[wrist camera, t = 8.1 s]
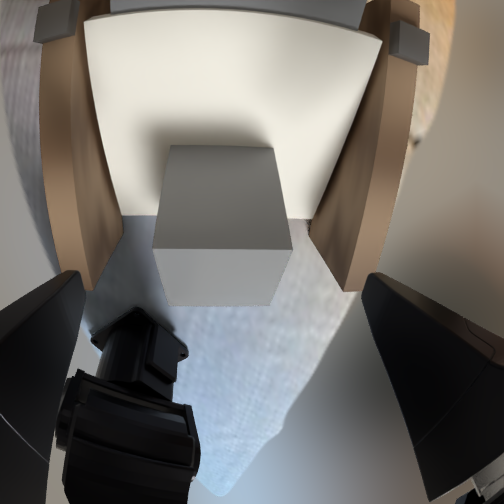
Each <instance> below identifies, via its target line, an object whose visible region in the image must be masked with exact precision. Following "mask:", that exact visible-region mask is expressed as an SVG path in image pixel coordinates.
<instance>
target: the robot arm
mask: <svg viewBox="0 0 504 504" xmlns="http://www.w3.org/2000/svg"><path fill="white" fill-rule="evenodd" d="M361 299H362V303H363V306H364V310H365V313H366V316H367V319H368V322H369V326H370V329H371V333H372V336H373V339H374V341H375V344H376V346H377V349H378V351H379V353H380V356H381V359H382V361H383V364H384V366H385V369H386V371H387V374H388V376H389V379H390V382H391V384H392V387H393V390H394V393H395V395H396V398H397V401H398V403H399V406H400V409H401V412H402V415H403V418H404V421H405V424H406V427H407V430H408V433H409V436H410V439H411V442H412V445H413V447H414V452H415V455H416V458H417V462H418V465H419V469H420V472H421V476H422V479H423V483H424V486H425V490H426V494H427V498H428V500H429V502H431V501H433V500H435V499H437V498H439V497H441V496H443V495H445V494H446V493H448V492H450V491H452V490H453V489H455V488H457V487H458V486H460V485H462V484H463V483H465V482H467V481H468V480H470V479H471V481H472V482H473V485H474V487H475V488H473V489H472V490H470V491H469V492H467V493H466V494H464V495H463V496H461V497H459V498H458V499H457V500H456V503H455V504H504V338H502V337H500V336H498V335H496V334H494V333H492V332H490V331H488V330H486V329H484V328H483V327H481V326H479V325H477V324H475V323H473V322H472V321H470V320H468V319H466V318H463V316H460V315H459V314H457V313H456V312H454V311H452V310H450V309H448V308H447V307H445V306H443V305H441V304H439V303H437V302H436V301H434V300H432V299H430V298H428V297H426V296H424V295H423V294H421V293H419V292H417V291H415V290H413V289H411V288H409V287H408V286H406V285H404V284H402V283H400V282H398V281H396V280H394V279H392V278H390V277H388V276H387V275H385V274H383V273H380V272H376V273H370V274H368V276H367V279H366V282H365V285H364V288H363V291H362V295H361ZM85 300H86V293H85V289H84V285H83V281H82V277H81V274H80V272H79V271H78V270H66V271H64V272H62V273H61V274H59V275H57V276H56V277H54V278H53V279H51V280H49V281H47V282H46V283H44V284H42V285H40V286H39V287H37V288H36V289H34V290H32V291H31V292H29V293H27V294H26V295H24V296H23V297H21V298H19V299H18V300H16V301H15V302H13V303H12V304H10V305H8V306H7V307H5V308H4V309H2V310H1V311H0V504H45V502H46V490H47V479H48V471H49V461H50V454H51V448H52V442H53V436H54V430H55V437H56V438H57V440H56V448H58V449H60V450H63V451H66V455H65V461H64V467H63V474H62V482H63V485H64V491H65V494H66V497H67V499H68V501H69V503H70V504H187V501H188V492H189V488H190V483H191V482H192V481H193V480H194V479H195V477H196V475H197V472H198V469H199V465H200V456H201V450H200V442H199V438H198V434H197V429H196V425H195V420H194V416H193V411H192V406H191V405H187V404H183V405H182V404H178V403H175V402H172V399H173V383H174V382H176V379H177V364H178V362H180V361H182V360H184V359H186V358H187V357H188V356H189V351H188V350H187V349H186V348H185V347H184V346H183V345H181V344H180V343H179V342H178V341H177V340H176V339H175V338H174V337H173V336H171V335H170V334H169V333H168V332H167V331H166V330H165V329H163V328H162V327H161V326H160V325H159V324H157V323H156V322H155V321H154V320H153V319H152V318H151V317H150V316H149V315H148V314H146V313H145V312H144V311H143V310H142V309H141V308H138V307H135V308H133V309H131V310H130V311H128V312H127V313H125V314H124V315H122V316H121V317H119V318H117V319H116V320H114V321H113V322H111V323H110V324H108V325H107V326H105V327H104V328H102V329H101V330H99V331H98V332H96V333H95V334H93V335H92V337H91V340H90V341H91V343H92V344H93V345H95V346H96V347H97V348H98V349H100V350H101V351H102V355H101V359H100V362H99V366H98V369H97V373H96V376H92V375H90V374H87V373H85V371H83V370H80V369H77V372H76V374H75V377H74V376H72V378H67V380H66V376H67V373H68V369H69V366H70V362H71V359H72V355H73V352H74V348H75V345H76V341H77V337H78V332H79V328H80V323H81V318H82V313H83V309H84V305H85ZM135 313H138V314H139V315H137V314H135ZM182 353H184V354H182ZM65 381H66V383H65ZM64 385H65V386H64Z"/></svg>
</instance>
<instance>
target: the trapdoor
mask: <svg viewBox="0 0 504 504" xmlns="http://www.w3.org/2000/svg"><path fill="white" fill-rule="evenodd" d="M366 1H367V0H110V8H111V13H110V14H104V15H98V16H93V17H91V18H90V19H88V20H86V21H84V30H85V41H86V50H87V58H88V66H89V73H90V79H91V86H92V92H93V98H94V103H95V109H96V114H97V119H98V124H99V129H100V133H101V138H102V142H103V147H104V151H105V155H106V159H107V163H108V167H109V171H110V175H111V179H112V183H113V186H114V190H115V194H116V197H117V201H118V204H119V207H120V211H121V214H122V216H134V215H157V213H158V207H159V201H160V196H161V190H162V185H163V179H164V174H165V169H166V164H167V159H168V155H169V150H170V146H171V145H223V146H248V147H266V148H274V152H275V157H276V162H277V167H278V172H279V177H280V182H281V188H282V193H283V198H284V203H285V209H286V214H287V218H294V219H313V217H314V214H315V212H316V210H317V207H318V205H319V203H320V200H321V198H322V196H323V193H324V191H325V189H326V186H327V184H328V181H329V179H330V177H331V174H332V172H333V169H334V167H335V165H336V162H337V160H338V157H339V155H340V152H341V150H342V148H343V145H344V143H345V140H346V138H347V135H348V133H349V130H350V127H351V125H352V122H353V120H354V117H355V115H356V112H357V110H358V107H359V104H360V102H361V99H362V96H363V94H364V91H365V88H366V86H367V83H368V80H369V78H370V75H371V72H372V70H373V67H374V64H375V61H376V58H377V56H378V53H379V50H380V47H381V44H382V40H380V39H379V38H378V37H376V36H375V35H373V34H370V33H367V32H364V31H360V30H358V28H359V25H360V21H361V18H362V15H363V12H364V8H365V5H366Z"/></svg>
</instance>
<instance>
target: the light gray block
mask: <svg viewBox="0 0 504 504" xmlns="http://www.w3.org/2000/svg"><path fill="white" fill-rule="evenodd" d="M152 250H153V253H154V257H155V261H156V264H157V268H158V271H159V275H160V278H161V282H162V285H163V288H164V292H165V295H166V298H167V302H168V305H169V306H270V303H271V301H272V299H273V296H274V294H275V292H276V289H277V287H278V284H279V282H280V280H281V277H282V275H283V273H284V270H285V268H286V265H287V263H288V261H289V258H290V256H291V253H292V251H293V248H292V242H291V236H290V231H289V225H288V220H287V214H286V209H285V203H284V198H283V193H282V188H281V182H280V177H279V172H278V167H277V162H276V157H275V152H274V148H266V147H248V146H223V145H171V146H170V150H169V155H168V159H167V164H166V169H165V174H164V179H163V185H162V190H161V196H160V201H159V207H158V213H157V220H156V226H155V233H154V240H153V247H152Z"/></svg>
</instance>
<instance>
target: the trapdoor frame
mask: <svg viewBox="0 0 504 504" xmlns="http://www.w3.org/2000/svg"><path fill="white" fill-rule="evenodd" d="M110 13H111V8H110V0H50V2H49V4H47V5H44V6H41V7H39V9H38V14H37V20H36V26H35V32H34V40H33V42H37V43H42V44H43V47H42V57H41V69H40V90H39V124H40V145H41V159H42V169H43V178H44V187H45V194H46V201H47V207H48V213H49V219H50V224H51V229H52V234H53V239H54V244H55V248H56V253H57V257H58V261H59V265H60V269H61V273H62V272H64V271H66V270H78V271H79V272H80V274H81V277H82V281H83V285H84V289H85V290H89V291H93V290H94V288H95V286H96V284H97V282H98V280H99V278H100V276H101V274H102V272H103V270H104V268H105V266H106V264H107V262H108V260H109V259H110V257H111V255H112V253H113V251H114V249H115V248H116V246H117V244H118V242H119V240H120V239H121V237H122V235H123V233H124V232H123V223H122V214H121V211H120V207H119V204H118V201H117V197H116V194H115V190H114V186H113V183H112V179H111V175H110V171H109V167H108V163H107V159H106V155H105V151H104V147H103V142H102V138H101V133H100V129H99V124H98V119H97V114H96V109H95V103H94V98H93V92H92V86H91V79H90V73H89V66H88V58H87V50H86V41H85V30H84V21H86V20H88V19H90V18H91V17H93V16H98V15H104V14H110ZM419 23H420V5H418V4H416V3H414V2H412V1H409V0H372V1H370V2H368V3H366V5H365V8H364V12H363V15H362V18H361V21H360V25H359V28H358V30H360V31H364V32H367V33H370V34H373V35H375V36H376V37H378V38H379V39H380V40H382V44H381V47H380V50H379V53H378V56H377V58H376V61H375V64H374V67H373V70H372V72H371V75H370V78H369V80H368V83H367V86H366V88H365V91H364V94H363V96H362V99H361V102H360V104H359V107H358V110H357V112H356V115H355V117H354V120H353V122H352V125H351V127H350V130H349V133H348V135H347V138H346V140H345V143H344V145H343V148H342V150H341V152H340V155H339V157H338V160H337V162H336V165H335V167H334V169H333V172H332V174H331V177H330V179H329V181H328V184H327V186H326V189H325V191H324V193H323V196H322V198H321V200H320V203H319V205H318V207H317V210H316V212H315V214H314V217H313V219H312V220H311V226H310V232H309V237H310V239H311V241H312V242H313V244H314V245H315V247H316V248H317V250H318V252H319V253H320V255H321V256H322V258H323V260H324V261H325V263H326V264H327V266H328V268H329V269H330V271H331V273H332V274H333V276H334V278H335V279H336V281H337V282H338V284H339V286H340V287H341V289H342V291H343V292H353V291H363V288H364V285H365V282H366V279H367V276H368V274H370V273H375V272H376V268H377V265H378V262H379V259H380V255H381V252H382V249H383V245H384V242H385V239H386V235H387V232H388V228H389V224H390V220H391V217H392V213H393V209H394V205H395V201H396V196H397V192H398V188H399V183H400V179H401V174H402V169H403V164H404V159H405V154H406V149H407V143H408V137H409V131H410V125H411V118H412V111H413V103H414V95H415V86H416V76H417V65H428V60H429V41H430V33H428V32H426V31H424V30H421V29H419Z"/></svg>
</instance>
